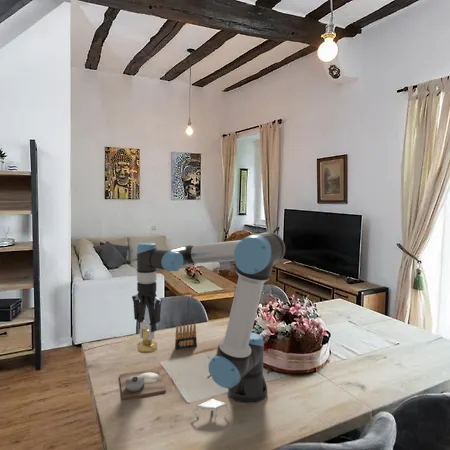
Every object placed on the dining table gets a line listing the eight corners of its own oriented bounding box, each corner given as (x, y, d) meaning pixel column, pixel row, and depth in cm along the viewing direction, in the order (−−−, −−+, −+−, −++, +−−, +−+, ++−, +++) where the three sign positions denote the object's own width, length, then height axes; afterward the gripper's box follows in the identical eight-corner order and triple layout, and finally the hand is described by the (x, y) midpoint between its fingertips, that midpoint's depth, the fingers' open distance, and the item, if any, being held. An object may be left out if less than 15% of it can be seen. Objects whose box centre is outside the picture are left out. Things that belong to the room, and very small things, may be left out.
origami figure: (221, 406, 131) (221, 393, 131) (230, 419, 124) (230, 406, 123) (189, 413, 127) (189, 400, 126) (196, 428, 119) (196, 414, 119)
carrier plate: (165, 392, 140) (165, 380, 139) (122, 400, 134) (122, 387, 134) (158, 370, 157) (157, 359, 156) (119, 376, 151) (119, 365, 151)
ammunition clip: (195, 345, 183) (195, 322, 182) (196, 346, 181) (196, 323, 180) (175, 348, 179) (174, 324, 178) (175, 349, 178) (175, 326, 176)
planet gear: (158, 351, 145) (158, 332, 144) (138, 354, 142) (138, 334, 142) (155, 343, 153) (155, 325, 152) (136, 346, 150) (135, 327, 149)
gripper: (169, 281, 145) (169, 338, 147) (136, 277, 152) (136, 331, 154) (158, 286, 138) (158, 345, 140) (124, 281, 145) (124, 337, 147)
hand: (147, 337), depth 147 cm, fingers closed on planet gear, 3 cm apart
